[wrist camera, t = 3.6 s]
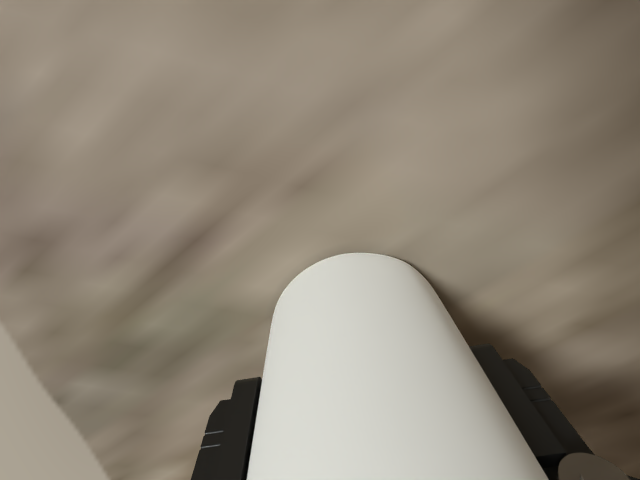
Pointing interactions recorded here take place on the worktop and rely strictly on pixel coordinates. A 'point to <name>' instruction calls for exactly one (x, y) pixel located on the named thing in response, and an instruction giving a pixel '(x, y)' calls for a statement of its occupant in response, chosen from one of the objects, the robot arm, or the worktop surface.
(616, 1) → the worktop surface
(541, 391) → the robot arm
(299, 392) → the can
